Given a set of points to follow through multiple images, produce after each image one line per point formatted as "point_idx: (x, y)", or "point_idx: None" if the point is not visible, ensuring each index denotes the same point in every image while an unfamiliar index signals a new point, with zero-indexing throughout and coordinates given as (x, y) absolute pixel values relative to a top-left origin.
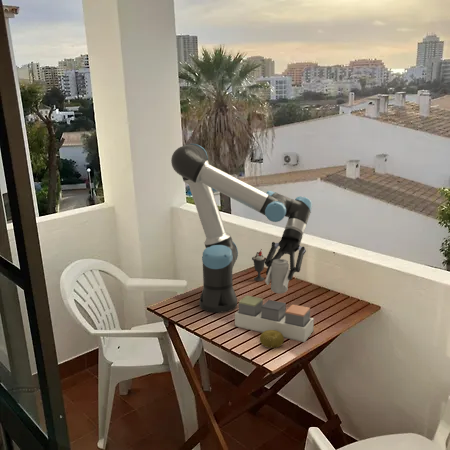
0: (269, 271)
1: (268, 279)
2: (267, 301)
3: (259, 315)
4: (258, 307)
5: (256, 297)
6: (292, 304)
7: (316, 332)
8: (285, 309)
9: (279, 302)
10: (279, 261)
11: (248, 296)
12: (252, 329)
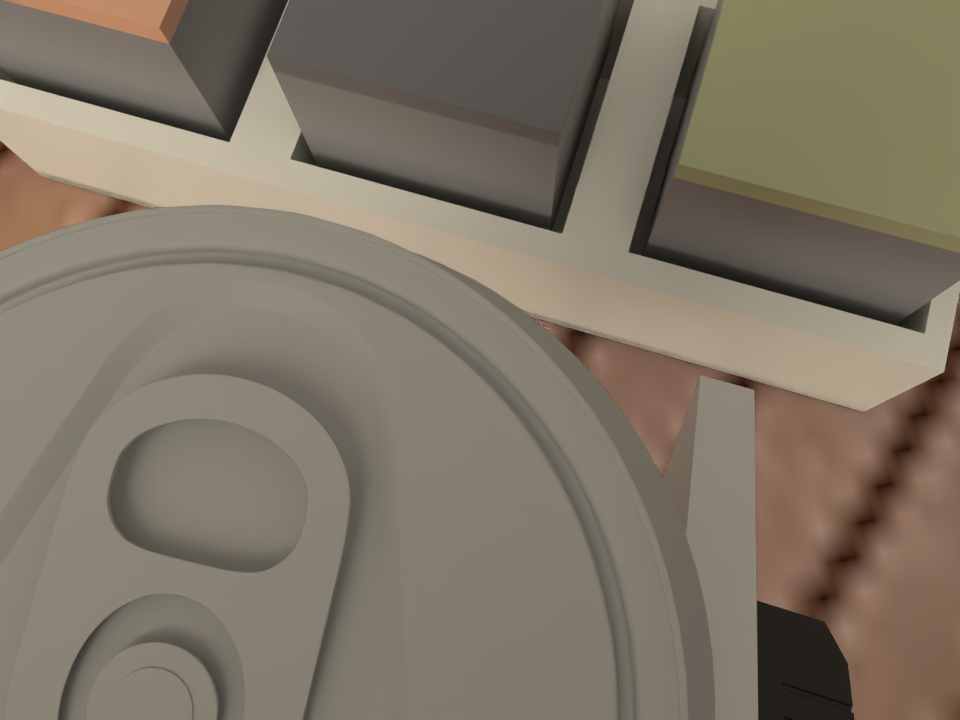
0: (721, 605)
1: (680, 470)
2: (575, 62)
3: (654, 48)
4: (700, 68)
5: (801, 192)
6: (158, 26)
7: (11, 164)
8: (295, 104)
9: (371, 62)
10: (209, 706)
11: (958, 208)
12: None
